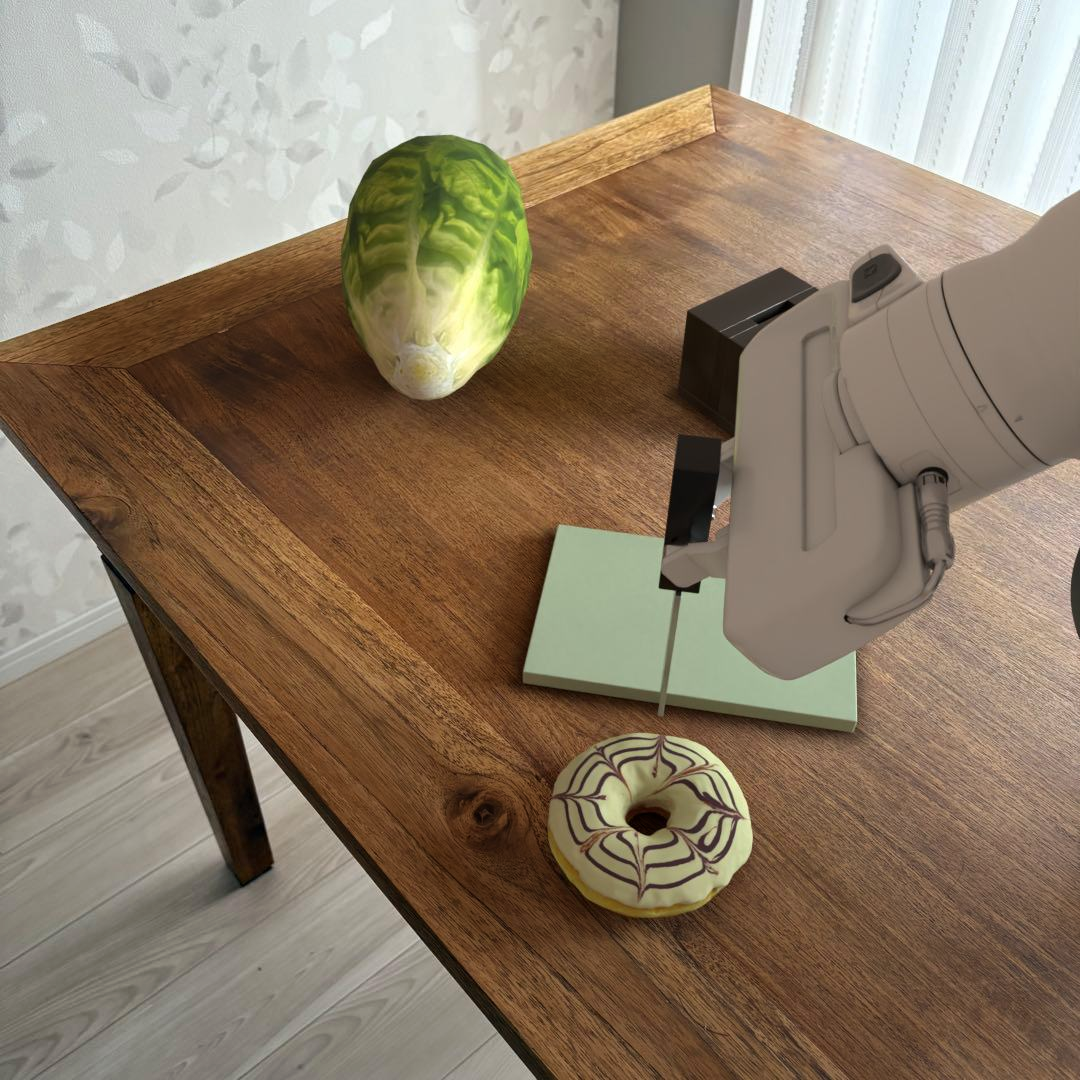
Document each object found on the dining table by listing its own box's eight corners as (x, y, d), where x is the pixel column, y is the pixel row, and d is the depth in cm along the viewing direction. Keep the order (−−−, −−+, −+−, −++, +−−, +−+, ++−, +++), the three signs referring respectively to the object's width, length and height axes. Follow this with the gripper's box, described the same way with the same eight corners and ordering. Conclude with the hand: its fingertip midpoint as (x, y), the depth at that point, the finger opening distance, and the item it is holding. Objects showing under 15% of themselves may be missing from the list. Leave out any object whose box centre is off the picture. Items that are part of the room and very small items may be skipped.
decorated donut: (784, 859, 60) (796, 823, 57) (631, 973, 56) (636, 940, 53) (659, 728, 66) (665, 690, 63) (512, 822, 62) (511, 785, 59)
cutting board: (849, 575, 75) (853, 562, 74) (853, 733, 66) (857, 721, 65) (557, 535, 77) (558, 523, 76) (522, 683, 68) (522, 671, 67)
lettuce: (329, 456, 83) (298, 276, 72) (370, 264, 102) (351, 97, 90) (529, 458, 83) (529, 278, 72) (533, 265, 102) (534, 99, 90)
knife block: (837, 398, 88) (859, 313, 83) (748, 447, 84) (764, 361, 78) (765, 350, 93) (780, 266, 87) (676, 395, 88) (686, 309, 83)
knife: (682, 675, 63) (722, 433, 50) (678, 718, 61) (719, 477, 48) (647, 671, 63) (678, 428, 51) (642, 713, 61) (673, 472, 48)
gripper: (1006, 638, 40) (701, 752, 48) (952, 314, 54) (723, 445, 62) (909, 535, 37) (603, 675, 45) (879, 223, 51) (650, 372, 59)
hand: (673, 539), depth 54 cm, fingers closed on knife, 2 cm apart
